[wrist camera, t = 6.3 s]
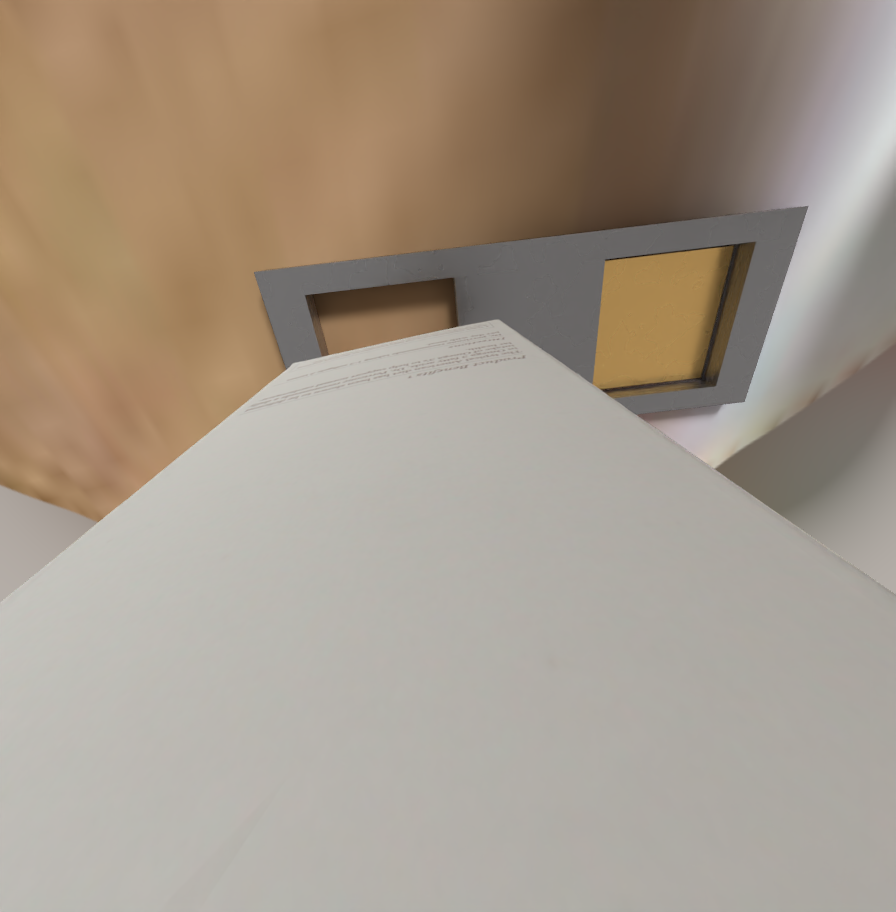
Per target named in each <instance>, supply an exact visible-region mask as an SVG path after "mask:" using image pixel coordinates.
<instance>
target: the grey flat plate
mask: <svg viewBox="0 0 896 912" xmlns="http://www.w3.org/2000/svg"><path fill="white" fill-rule="evenodd" d="M807 209H808V206H804V207H794V208H784V209H776V210H767V211H759V212H750V213H742V214H734V215H725V216H717V217H709V218H700V219H692V220H683V221H675V222H667V223H658V224H650V225H641V226H633V227H625V228H616V229H608V230H600V231H591V232H583V233H574V234H566V235H558V236H549V237H541V238H532V239H524V240H516V241H507V242H499V243H490V244H482V245H474V246H465V247H457V248H449V249H440V250H432V251H423V252H415V253H407V254H398V255H390V256H381V257H373V258H365V259H356V260H348V261H340V262H331V263H323V264H314V265H306V266H298V267H289V268H281V269H272V270H264V271H258V272H254V274H255V277H256V280H257V283H258V286H259V289H260V292H261V295H262V298H263V301H264V304H265V307H266V310H267V313H268V316H269V319H270V322H271V325H272V328H273V331H274V334H275V337H276V340H277V343H278V346H279V349H280V352H281V355H282V358H283V361H284V364H285V367H286V370H287V369H288V368H289V367H290V366H291V365H292V364H293V363H297V362H302V361H306V360H311V359H315V358H319V357H324V356H328V355H329V354H328V350H327V347H326V343H325V339H324V335H323V332H322V328H321V324H320V320H319V317H318V313H317V309H316V305H315V302H314V298H313V294H319V293H327V292H335V291H344V290H352V289H361V288H369V287H378V286H386V285H394V284H403V283H411V282H420V281H428V280H436V279H445V278H453V282H454V294H455V305H456V317H457V327H459V326H465V325H470V324H475V323H481V322H486V321H491V320H500V321H502V322H503V323H504V324H506V325H507V326H509V327H510V328H512V329H513V330H515V331H516V332H518V333H519V334H520V335H522V336H523V337H525V338H526V339H528V340H529V341H531V342H532V343H533V344H535V345H536V346H538V347H539V348H541V349H542V350H543V351H545V352H546V353H548V354H550V355H551V356H553V357H554V358H555V359H557V360H558V361H560V362H561V363H563V364H564V365H565V366H567V367H568V368H569V369H571V370H572V371H574V372H575V373H577V374H578V375H580V376H581V377H583V378H584V379H585V380H587V381H588V382H590V383H591V384H593V385H594V386H596V387H597V388H599V389H608V388H616V387H625V386H633V385H642V384H650V383H659V382H668V381H676V380H685V379H693V378H701V374H702V371H703V367H704V363H705V359H706V355H707V351H708V347H709V343H710V339H711V335H712V331H713V327H714V323H715V319H716V315H717V311H718V307H719V303H720V300H721V296H722V292H723V288H724V284H725V280H726V276H727V272H728V268H729V264H730V260H731V256H732V252H733V248H734V246H726V247H717V248H709V249H700V250H692V251H683V252H675V253H667V254H658V255H650V256H641V257H633V258H624V259H616V260H608V261H605V259H613V258H622V257H630V256H638V255H647V254H655V253H664V252H672V251H681V250H689V249H697V248H706V247H714V246H723V245H731V244H736V246H735V250H734V253H733V257H732V261H731V265H730V269H729V273H728V277H727V281H726V285H725V289H724V293H723V297H722V300H721V304H720V308H719V312H718V316H717V320H716V324H715V328H714V332H713V336H712V340H711V344H710V347H709V351H708V355H707V359H706V363H705V367H704V371H703V375H702V379H699V380H691V381H682V382H674V383H665V384H656V385H648V386H639V387H631V388H622V389H614V390H605V391H603V392H604V393H606V394H607V395H608V396H610V397H611V398H612V399H614V400H616V401H617V402H619V403H620V404H621V405H623V406H624V407H625V408H627V409H628V410H629V411H631V412H632V413H634V414H635V415H636V414H644V413H653V412H661V411H670V410H679V409H687V408H696V407H704V406H713V405H722V404H730V403H739V402H744V401H745V398H746V395H747V392H748V389H749V386H750V383H751V380H752V377H753V374H754V371H755V368H756V365H757V362H758V359H759V356H760V353H761V350H762V346H763V343H764V340H765V337H766V334H767V331H768V328H769V325H770V322H771V319H772V316H773V313H774V310H775V307H776V304H777V301H778V298H779V294H780V291H781V288H782V285H783V282H784V279H785V276H786V273H787V270H788V267H789V264H790V261H791V258H792V255H793V252H794V249H795V246H796V242H797V239H798V236H799V233H800V230H801V227H802V224H803V221H804V218H805V215H806V212H807Z"/></svg>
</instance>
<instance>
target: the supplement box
mask: <svg viewBox="0 0 896 912" xmlns="http://www.w3.org/2000/svg"><path fill="white" fill-rule="evenodd" d="M0 912H896V594H894V593H893V592H891V591H890V590H888V589H887V588H885V587H884V586H883V585H881V584H880V583H878V582H876V581H875V580H874V579H872V578H871V577H870V576H868V575H867V574H865V573H864V572H862V571H861V570H859V569H858V568H856V567H855V566H854V565H852V564H851V563H849V562H848V561H846V560H845V559H843V558H842V557H841V556H839V555H838V554H836V553H835V552H833V551H832V550H830V549H829V548H827V547H826V546H825V545H823V544H822V543H820V542H819V541H817V540H816V539H814V538H813V537H811V536H810V535H809V534H807V533H806V532H804V531H803V530H801V529H800V528H798V527H797V526H795V525H794V524H793V523H791V522H790V521H788V520H787V519H785V518H784V517H782V516H781V515H779V514H778V513H777V512H775V511H774V510H772V509H771V508H770V507H768V506H767V505H765V504H763V503H762V502H761V501H759V500H758V499H756V498H755V497H754V496H752V495H751V494H749V493H748V492H747V491H745V490H744V489H742V488H741V487H739V486H738V485H736V484H735V483H734V482H732V481H731V480H729V479H728V478H726V477H725V476H723V475H722V474H721V473H719V472H718V471H716V470H715V469H713V468H712V467H710V466H709V465H708V464H706V463H705V462H703V461H702V460H700V459H699V458H698V457H696V456H695V455H693V454H692V453H690V452H689V451H687V450H686V449H685V448H683V447H682V446H680V445H679V444H677V443H676V442H674V441H673V440H672V439H670V438H669V437H667V436H666V435H664V434H663V433H662V432H660V431H659V430H657V429H656V428H654V427H653V426H651V425H650V424H648V423H647V422H646V421H644V420H643V419H641V418H640V417H638V416H637V415H635V414H634V413H632V412H631V411H629V410H628V409H627V408H625V407H624V406H623V405H621V404H620V403H619V402H617V401H616V400H614V399H612V398H611V397H610V396H608V395H607V394H606V393H604V392H603V391H602V390H600V389H599V388H597V387H596V386H594V385H593V384H591V383H590V382H588V381H587V380H585V379H584V378H583V377H581V376H580V375H578V374H577V373H575V372H574V371H572V370H571V369H569V368H568V367H567V366H565V365H564V364H563V363H561V362H560V361H558V360H557V359H555V358H554V357H553V356H551V355H550V354H548V353H546V352H545V351H543V350H542V349H541V348H539V347H538V346H536V345H535V344H533V343H532V342H531V341H529V340H528V339H526V338H525V337H523V336H522V335H520V334H519V333H518V332H516V331H515V330H513V329H512V328H510V327H509V326H507V325H506V324H504V323H503V322H502V321H500V320H491V321H486V322H481V323H475V324H470V325H465V326H459V327H455V328H450V329H445V330H441V331H436V332H431V333H427V334H422V335H418V336H413V337H409V338H404V339H400V340H395V341H391V342H386V343H382V344H377V345H373V346H368V347H364V348H360V349H355V350H351V351H346V352H342V353H337V354H333V355H328V356H324V357H319V358H315V359H311V360H306V361H302V362H297V363H293V364H292V365H291V366H290V367H289V368H288V369H287V370H285V371H284V372H283V373H282V374H280V375H279V376H278V377H277V378H275V379H274V380H273V381H271V382H270V383H269V384H268V385H266V386H265V387H264V388H263V389H262V390H261V391H259V392H258V393H257V394H256V395H254V396H253V397H252V398H251V399H250V400H248V401H247V402H246V403H245V404H244V405H242V406H241V407H240V408H239V409H237V410H236V411H235V412H234V413H232V414H231V415H230V416H229V417H228V418H226V419H225V420H224V421H223V422H222V423H220V424H219V425H218V426H217V427H215V428H214V429H213V430H212V431H210V432H209V433H208V434H207V435H205V436H204V437H203V438H202V439H201V440H199V441H198V442H197V443H196V444H194V445H193V446H192V447H191V448H189V449H188V450H187V451H186V452H184V453H183V454H182V455H181V456H179V457H178V458H177V459H176V460H175V461H173V462H172V463H171V464H170V465H168V466H167V467H166V468H165V469H164V470H162V471H161V472H160V473H159V474H158V475H156V476H155V477H154V478H153V479H151V480H150V481H149V482H148V483H147V484H145V485H144V486H143V487H142V488H140V489H139V490H138V491H137V492H136V493H134V494H133V495H132V496H131V497H129V498H128V499H127V500H126V501H124V502H123V503H122V504H121V505H119V506H118V507H117V508H116V509H114V510H113V511H112V512H111V513H109V514H108V515H107V516H106V517H104V518H103V519H102V520H101V521H100V522H98V523H97V524H96V525H95V526H94V527H92V528H91V529H90V530H89V531H87V532H86V533H85V534H84V535H83V536H81V537H80V538H79V539H78V540H76V541H75V542H74V543H73V544H72V545H70V546H69V547H68V548H67V549H66V550H64V551H63V552H62V553H61V554H59V555H58V556H57V557H56V558H54V559H53V560H52V561H51V562H50V563H48V564H47V565H46V566H45V567H43V568H42V569H41V570H40V571H38V572H37V573H36V574H35V575H34V576H32V577H31V578H30V579H29V580H27V581H26V582H25V583H24V584H23V585H21V586H20V587H19V588H18V589H16V590H15V591H14V592H13V593H12V594H10V595H9V596H8V597H7V598H5V599H4V600H3V601H2V602H0Z"/></svg>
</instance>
